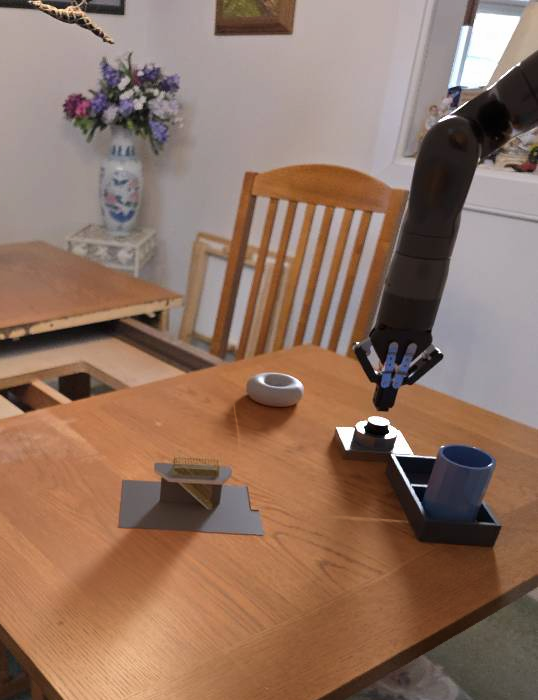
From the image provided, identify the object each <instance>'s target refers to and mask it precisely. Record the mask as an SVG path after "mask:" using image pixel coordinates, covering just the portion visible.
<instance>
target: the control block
mask: <svg viewBox="0 0 538 700" xmlns="http://www.w3.org/2000/svg"><path fill="white" fill-rule="evenodd" d="M366 424H367V420H364V421H359V422H357V423H356V424H355V426H354V427H344V426H343V427H341V426H339V427H338V426H335V429H334V434H333V438H334V440H335V443H336V446H337V448H338V450H339V452H340V453H339V454H340V456H341V458H342V460H343V461H354V462H369V463H382V464H383V463H384V464H388V460H389V456H390V454H399V455H414V452H413V451H412V449H411V448H410V446H409V444H408V443H407V441H406V439H405V437H404V436H403V434H402V432H401V431H400V430H397V429H396V427H393V426H391V425H390V424H389V428H388V431H387V434H386V435H375V434H371V433H368V432H367V431H365V428H366ZM414 456H415V455H414Z"/></svg>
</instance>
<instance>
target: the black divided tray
mask: <svg viewBox="0 0 538 700" xmlns="http://www.w3.org/2000/svg"><path fill="white" fill-rule="evenodd" d="M436 457H437V456H428V455H399V454H390V456H389V460H388V463H386V467H385V470H384V474H385V476H386V478H387V480H388V482H389V484H390V486H391V488H392V490H393V492H394V494H395V496H396V498H397V500H398V502H399V504H400V506H401V508H402V510H403V512H404V514H405V516H406V518H407V520H408V522H409V525H410V526H411V528H412V530H413V533H414V535H415V536H416V538H417V541H418V543H430V544H444V545H445V544H447V545H458V546H459V545H460V546H461V545H462V546H475V547H489V548H494V547H495V545H496V542H497V539H498V537H499V534H500V532H501V529H502V527H503V525H502V524H501V522H500V521H499V520H498V518H497V517H496V515H495V514H494V513H493V511H492V509H491V508H490V507H489V505H488V504H487V503H486V501H485V499H483V501H482V503H481V506H480V509H479V511H478V514H477V517H476V519H475V522H468V521H453V520H438V519H429V517H428V516H427V514H426V512H425V510H424V508H423V506H422V505H421V503H422V500H423V497H424V494H425V491H426V488H427V485H428V482H429V479H430V475H431V472H432V469H433V466H434V463H435V460H436Z"/></svg>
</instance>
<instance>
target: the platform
mask: <svg viewBox="0 0 538 700" xmlns="http://www.w3.org/2000/svg"><path fill="white" fill-rule="evenodd" d="M153 472H154V474H156V475H158V476H159V477H161V478H160V481H157V480H156V481H155V480H137V479H136V480H135V479H123V480H122V487H121V497H120V498H121V499H120V510H119V521H118V527H119V528H128V529H145V530H165V531H166V530H167V531H182V532H184V531H185V532H201V533H202V532H203V533H219V534H220V533H222V534H239V535H241V534H242V535H260V536H265V532H264V527H263V523H262V519H261V514H260V510H259V509H252V507H251V500H250V494H249V493H250V492H249V486H247V485H234V484H233V485H231V484H226V483H227V482H228V481H229V479H231V477H232V476H233V469H232V467H231V466H227V465H226V466H225V465H224V466H223V465H221V463H220V459H219V458H203V457H202V458H201V457H186V456H185V457H184V456H183V457H182V456H174V457H173V463H170V462H155V463H154V464H153Z"/></svg>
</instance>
